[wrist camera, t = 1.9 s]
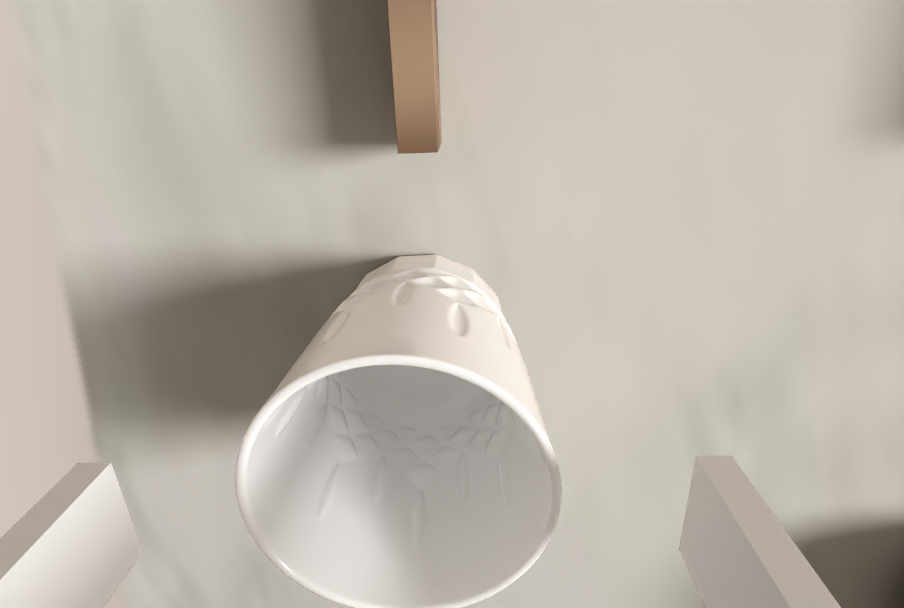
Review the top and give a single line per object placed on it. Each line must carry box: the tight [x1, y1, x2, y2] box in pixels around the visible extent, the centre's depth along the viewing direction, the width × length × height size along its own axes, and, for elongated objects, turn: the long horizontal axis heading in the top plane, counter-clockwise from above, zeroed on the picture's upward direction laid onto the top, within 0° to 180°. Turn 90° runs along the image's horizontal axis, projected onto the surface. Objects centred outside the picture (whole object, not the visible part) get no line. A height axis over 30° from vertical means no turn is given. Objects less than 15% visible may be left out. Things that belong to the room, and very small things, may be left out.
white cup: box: [235, 254, 562, 608], centre depth 17 cm, size 8×8×10 cm
